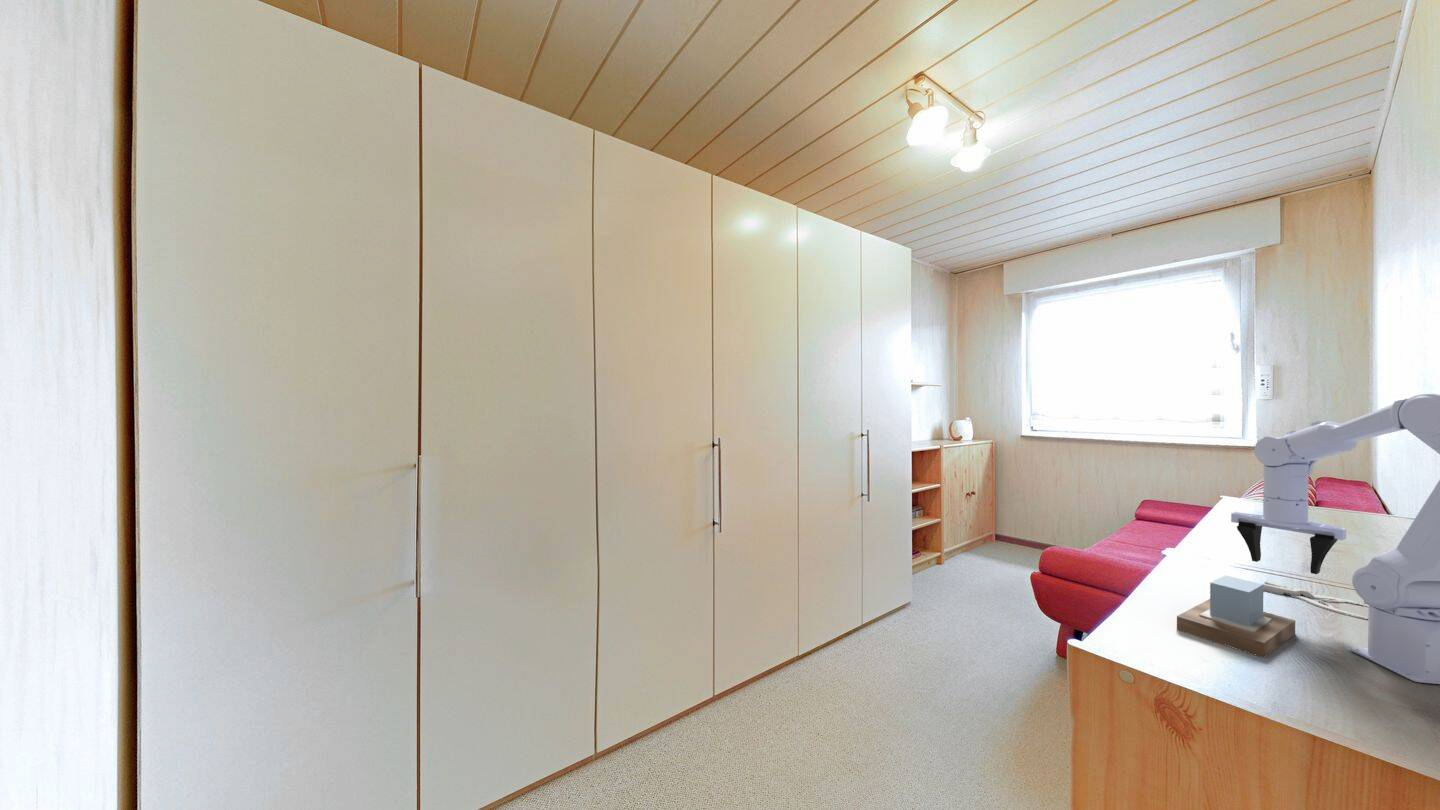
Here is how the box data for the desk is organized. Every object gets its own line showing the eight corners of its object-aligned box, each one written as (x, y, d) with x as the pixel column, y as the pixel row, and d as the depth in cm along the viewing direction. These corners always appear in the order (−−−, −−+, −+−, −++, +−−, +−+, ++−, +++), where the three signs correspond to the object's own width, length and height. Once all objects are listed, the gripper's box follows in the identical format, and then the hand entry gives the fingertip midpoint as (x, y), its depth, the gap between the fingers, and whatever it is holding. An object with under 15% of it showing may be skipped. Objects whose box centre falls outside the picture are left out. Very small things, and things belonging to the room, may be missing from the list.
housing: (1249, 626, 84) (1249, 592, 84) (1210, 614, 88) (1210, 582, 88) (1264, 615, 88) (1265, 583, 88) (1226, 605, 92) (1226, 574, 92)
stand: (1211, 610, 96) (1211, 596, 96) (1295, 633, 86) (1295, 618, 86) (1176, 629, 89) (1176, 614, 89) (1263, 657, 79) (1263, 641, 79)
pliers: (1369, 614, 91) (1254, 586, 104) (1369, 622, 91) (1254, 594, 104) (1381, 603, 95) (1270, 578, 109) (1381, 611, 96) (1270, 585, 109)
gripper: (1351, 502, 89) (1350, 574, 89) (1240, 489, 102) (1239, 552, 102) (1340, 507, 86) (1339, 582, 86) (1227, 493, 99) (1226, 558, 99)
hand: (1284, 566), depth 94 cm, fingers open, 7 cm apart
